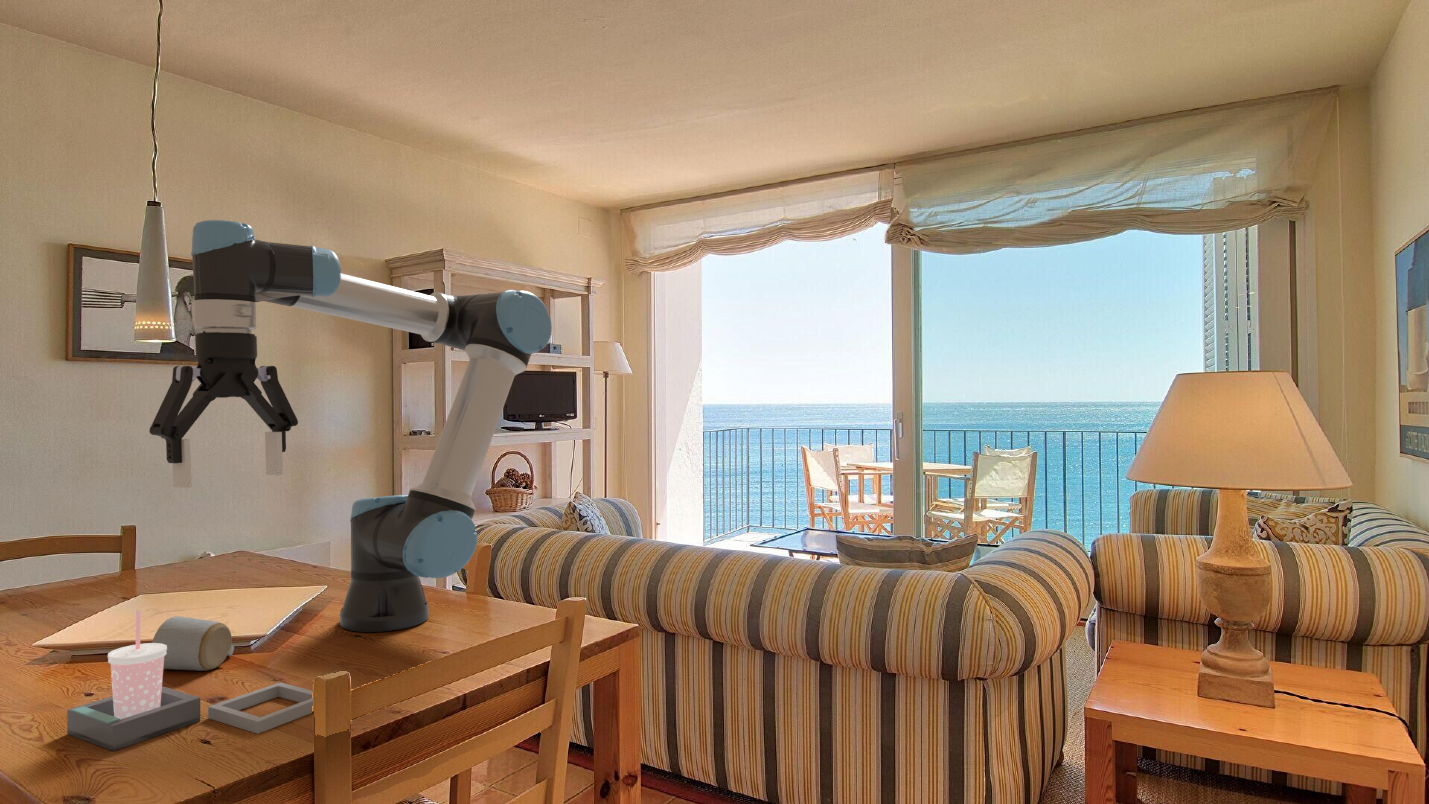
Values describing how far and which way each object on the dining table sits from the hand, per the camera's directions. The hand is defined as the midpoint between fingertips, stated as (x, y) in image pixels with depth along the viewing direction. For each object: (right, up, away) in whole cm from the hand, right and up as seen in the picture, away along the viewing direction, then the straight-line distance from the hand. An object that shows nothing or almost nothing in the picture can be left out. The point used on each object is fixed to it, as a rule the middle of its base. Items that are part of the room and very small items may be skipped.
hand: (230, 480), depth 116 cm
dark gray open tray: (-3, -29, -15) cm, 33 cm away
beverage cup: (-3, -29, -15) cm, 33 cm away
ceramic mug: (-10, -29, +8) cm, 32 cm away
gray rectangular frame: (+11, -30, -10) cm, 33 cm away
